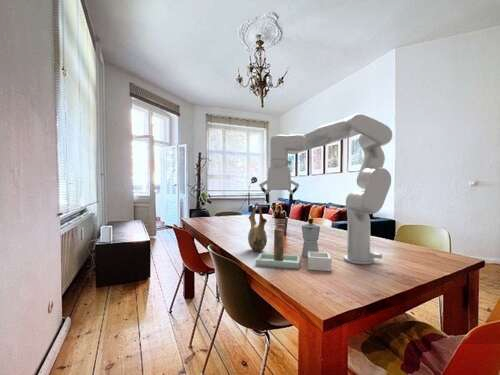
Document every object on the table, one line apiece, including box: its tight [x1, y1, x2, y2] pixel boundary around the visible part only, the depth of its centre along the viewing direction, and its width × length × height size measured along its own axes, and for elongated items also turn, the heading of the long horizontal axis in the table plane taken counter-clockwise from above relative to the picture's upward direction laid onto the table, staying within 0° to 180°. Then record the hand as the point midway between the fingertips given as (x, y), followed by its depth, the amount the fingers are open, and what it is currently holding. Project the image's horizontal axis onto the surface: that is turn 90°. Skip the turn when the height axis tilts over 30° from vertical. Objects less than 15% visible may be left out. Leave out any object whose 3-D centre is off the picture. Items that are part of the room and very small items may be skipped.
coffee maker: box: [301, 218, 321, 259], centre depth 121 cm, size 15×9×18 cm, turn 161°
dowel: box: [273, 228, 284, 261], centre depth 108 cm, size 4×4×14 cm
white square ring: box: [307, 251, 332, 272], centre depth 104 cm, size 9×9×5 cm
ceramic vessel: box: [247, 202, 268, 253], centre depth 129 cm, size 16×9×25 cm, turn 27°
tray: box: [255, 252, 301, 270], centre depth 108 cm, size 18×11×2 cm, turn 77°
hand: (279, 203), depth 108 cm, fingers open, 9 cm apart
